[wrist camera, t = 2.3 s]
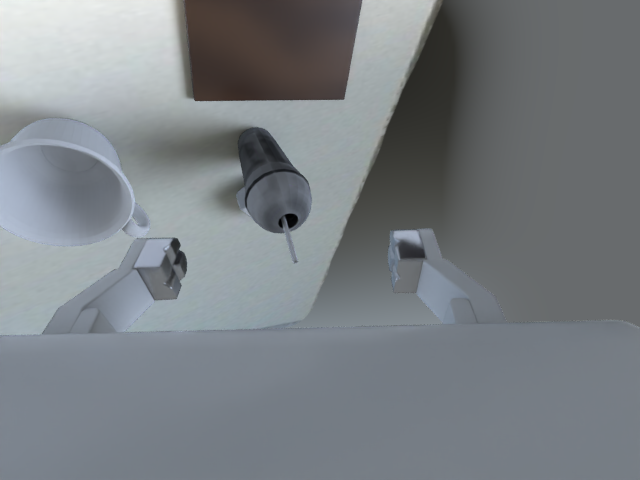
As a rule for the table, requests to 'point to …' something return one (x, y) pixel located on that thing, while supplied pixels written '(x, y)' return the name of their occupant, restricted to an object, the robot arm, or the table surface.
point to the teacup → (65, 186)
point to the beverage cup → (272, 185)
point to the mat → (270, 48)
